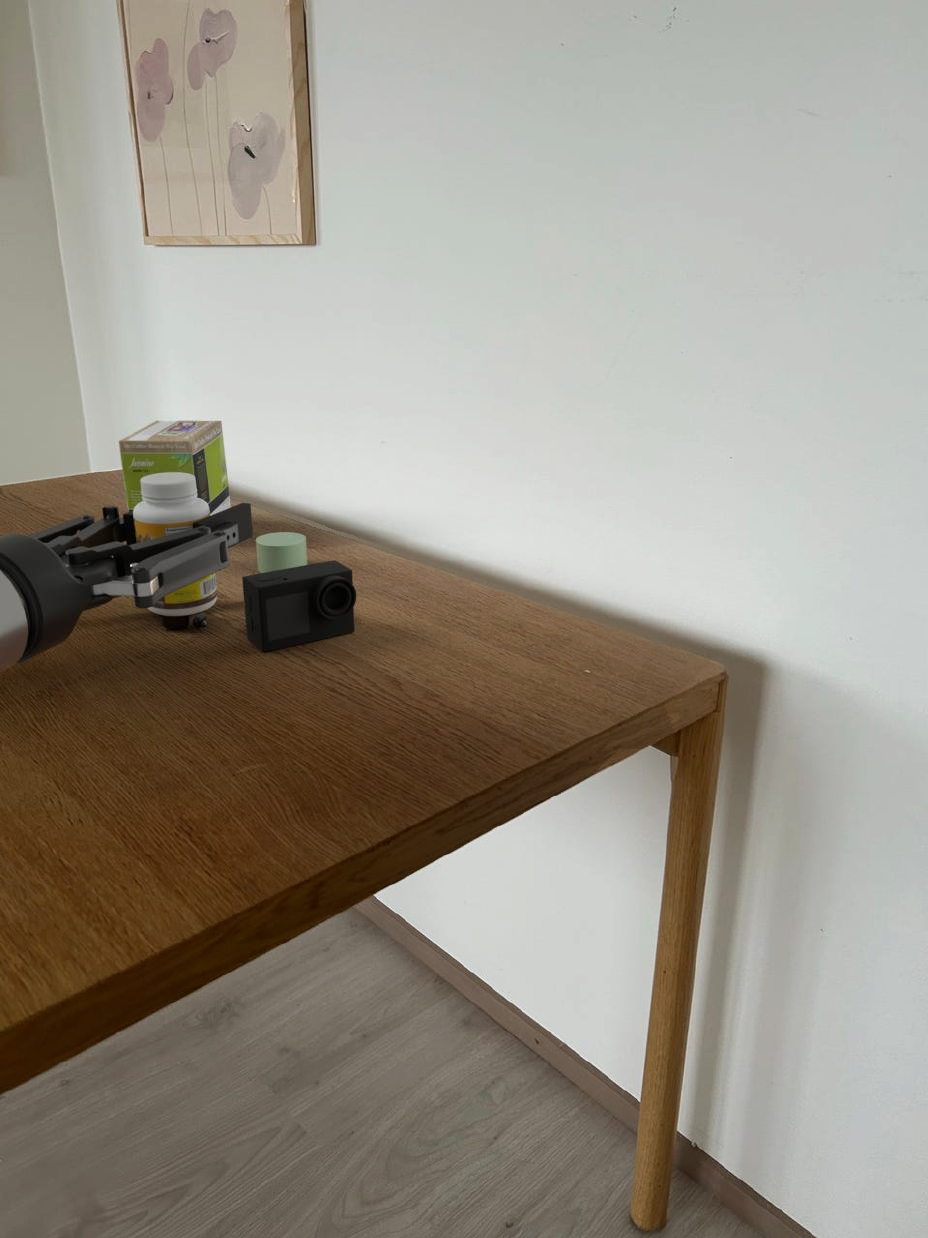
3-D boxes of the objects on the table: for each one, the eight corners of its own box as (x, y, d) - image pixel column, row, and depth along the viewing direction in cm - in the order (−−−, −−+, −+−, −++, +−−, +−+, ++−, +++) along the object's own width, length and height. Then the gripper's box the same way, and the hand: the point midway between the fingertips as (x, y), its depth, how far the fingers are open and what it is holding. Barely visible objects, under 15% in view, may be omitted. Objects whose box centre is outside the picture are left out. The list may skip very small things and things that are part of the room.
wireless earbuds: (161, 634, 100) (158, 605, 98) (168, 610, 106) (165, 583, 105) (207, 631, 100) (204, 602, 99) (211, 608, 107) (208, 580, 106)
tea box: (167, 517, 143) (156, 418, 137) (233, 519, 142) (225, 419, 137) (130, 547, 129) (116, 437, 123) (203, 548, 128) (193, 438, 123)
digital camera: (266, 657, 94) (262, 590, 92) (246, 639, 98) (241, 575, 96) (360, 636, 99) (358, 572, 97) (337, 620, 104) (334, 558, 101)
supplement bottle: (139, 600, 76) (123, 473, 72) (209, 590, 78) (197, 466, 74) (150, 623, 71) (134, 488, 68) (225, 612, 74) (213, 481, 70)
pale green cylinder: (254, 573, 118) (251, 534, 117) (302, 568, 121) (300, 530, 119) (263, 588, 113) (260, 548, 111) (313, 582, 115) (311, 543, 114)
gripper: (-115, 644, 61) (126, 547, 82) (120, 691, 55) (318, 573, 75) (-141, 531, 59) (115, 460, 79) (103, 567, 52) (313, 480, 73)
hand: (213, 515), depth 77 cm, fingers closed on supplement bottle, 6 cm apart
